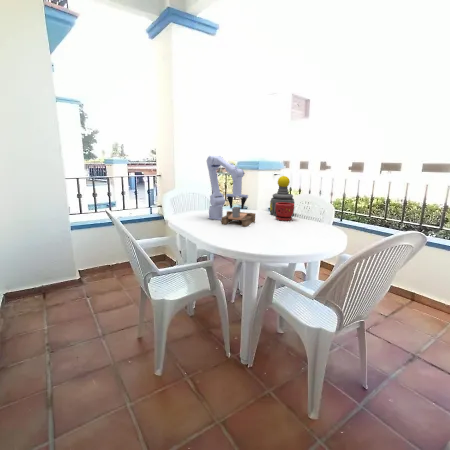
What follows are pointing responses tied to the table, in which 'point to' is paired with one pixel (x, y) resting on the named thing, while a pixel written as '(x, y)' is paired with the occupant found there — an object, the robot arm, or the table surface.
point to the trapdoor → (239, 216)
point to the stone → (236, 212)
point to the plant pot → (284, 211)
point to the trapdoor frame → (245, 222)
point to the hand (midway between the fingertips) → (236, 208)
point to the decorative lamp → (281, 195)
